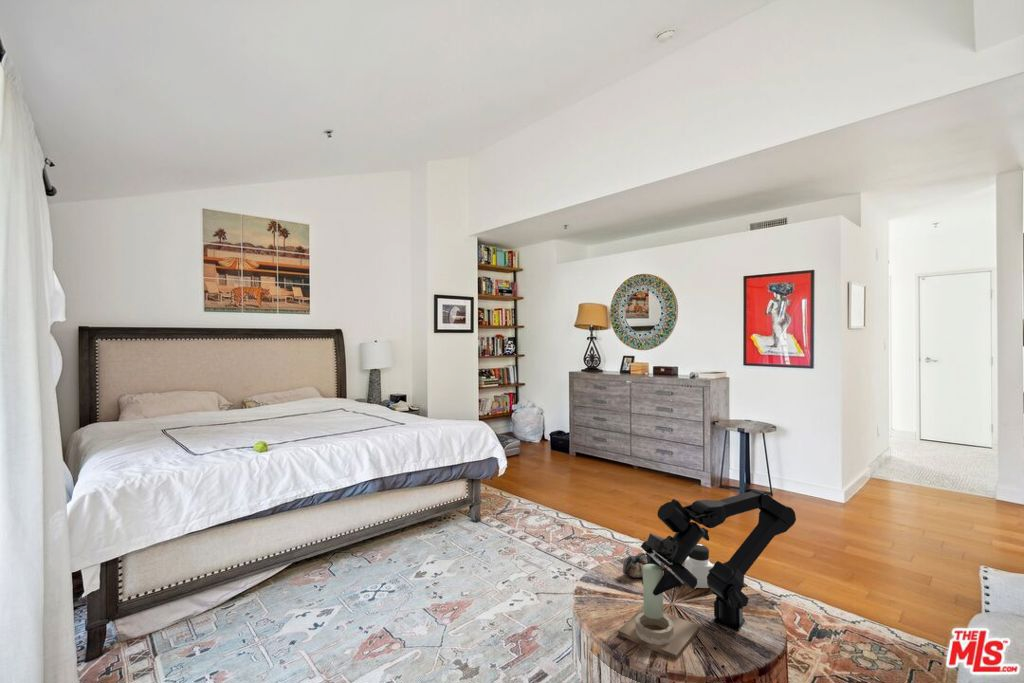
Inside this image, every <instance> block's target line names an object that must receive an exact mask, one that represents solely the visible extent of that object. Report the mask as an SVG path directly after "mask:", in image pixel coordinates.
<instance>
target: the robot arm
mask: <svg viewBox="0 0 1024 683" xmlns="http://www.w3.org/2000/svg"><path fill="white" fill-rule="evenodd" d="M757 509H758V510H759V512H758V520H757V521H758V522H757V525H756V526H755V527H754V528H753V529H752V530H751V532H750V533H749V534H748V536H747V537H746V538H745V540H743V542H742V544H740V546H739V547H738V549H737V550H736V551H735V552H734V553H733V554H732V556H731V557H730V559H729V560H727V561H725V562H723V563H722V562H721V561H719V560H717V561H716V562H715V563H714V564H713V567H712V568H711V569H710V570H709V572H710V573H709V574H708V576H707V584H708V587H709V588H710V589H709V590H710V591H711V594H712V595H714V596H716V597H715V600H714V601H713V616H714V617H715V618H714V620H713V623H715V624H717V625H720V626H723V627H726V628H729V629H732V630H734V631H738V632H739V631H740V630H741V628H742V627H743V625H744V623H745V622H746V620H745V618H744V614H743V611H744V610H743V609H744V608H745V607H748V604H749V599H750V598H749V597H748V596H747V595H746V594H745V593H744V592H742V590H743V588H744V583H745V575H746V574H747V572H748V571H749V570H750V569H751V567H752V566H753V565H754V563H755V562H756V561H757V560H758V558H759V557H760V556H761V554H762V553H763V552H764V550H765V549H766V548H767V546H768V545H769V544H770V543H771V542H772V540H773V539H774V538H775V536H778V535H781V534H784V533H786V532H787V531H788V530H789V529H790V528H792V527H793V526H794V525H795V523H796V521H797V517H796V512H795V510H794V508H792V507H790V506H787V505H785V504H782V503H781V502H779V501H777V500H776V499H775V498H773V497H772V496H771V495H769V494H768V493H767V492H764V491H761V490H758V489H751V490H750V491H748V492H743V493H740V494H737V495H734V496H730V497H726V498H723V499H720V500H714V499H713V500H711V499H702V500H701V499H699V500H695V501H693V502H692V503H691V504H689V505H685V506H683V505H682V504H681V502H679V500H678V499H675V498H672V499H671V501H668V502H665V503H663V505H661V506H659V508H658V509H657V518H658V519H659V520H660V521H661V522H662V523H663V524H664V525H666V527H667V528H668V529H670V531H671V532H673V533H674V535H673V536H671V535H668V536H666V538H663V537H661V536H658V535H656V534H653V533H649V536H648V538H647V540H646V541H643V543H642V544H641V545H640V548H641V549H643V551H645V552H644V553H645V555H646V556H647V564H655V565H658V566H660V565H661V563H663V564H665V566H666V567H667V568H669V569H667V568H666V567H665V566H664V568H662V567H661V566H660V567H661V568H662V572H663V574H662V576H663V577H662V578H661V580H660V581H659V583H658V584H657V586H656V587H655V589H654V591H653V594H654V595H655V596H657V595H659V594H661V593H663V594H664V593H665V592H667V591H670V590H672V589H675V588H679V587H680V586H682V587H684V586H687V587H689V588H690V589H692V591H693V590H695V589H694V588H695V587H696V585H697V578H696V577H695V576H694V575H693V574H692V573H691V572H690V571H688V570H687V569H686V568H685V565H684V566H683V564H685V560H686V559H687V557H690V558H692V557H693V554H692V553H691V552H692V550H693V549H694V548H695V546H696V545H697V544H699V542H700V541H701V539H703V540H706V541H707V542H709V541H710V536H709V529H714V528H717V527H718V526H720V525H722V524H724V522H725V521H726V519H728V518H730V517H733V516H736V515H740V514H743V513H746V512H751V511H754V510H757ZM700 525H702V526H704V527H701V526H700ZM684 583H685V584H684ZM641 584H642V585H643V579H642V581H641Z"/></svg>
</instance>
